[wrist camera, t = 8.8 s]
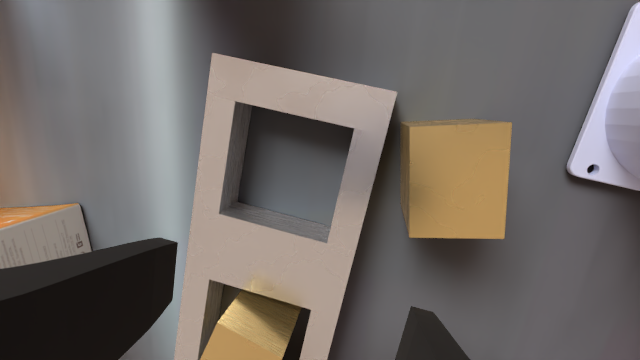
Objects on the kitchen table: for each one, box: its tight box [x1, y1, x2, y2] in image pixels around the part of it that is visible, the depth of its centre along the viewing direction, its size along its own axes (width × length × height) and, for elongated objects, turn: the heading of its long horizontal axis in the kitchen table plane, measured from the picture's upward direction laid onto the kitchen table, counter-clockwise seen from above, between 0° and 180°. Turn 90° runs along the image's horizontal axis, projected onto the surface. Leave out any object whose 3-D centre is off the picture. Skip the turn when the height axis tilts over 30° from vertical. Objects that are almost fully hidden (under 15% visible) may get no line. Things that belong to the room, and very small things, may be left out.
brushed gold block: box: [200, 289, 302, 360], centre depth 19 cm, size 4×4×5 cm
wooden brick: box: [400, 119, 512, 239], centre depth 15 cm, size 4×4×5 cm
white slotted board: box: [174, 53, 397, 360], centre depth 19 cm, size 9×20×2 cm, turn 168°
